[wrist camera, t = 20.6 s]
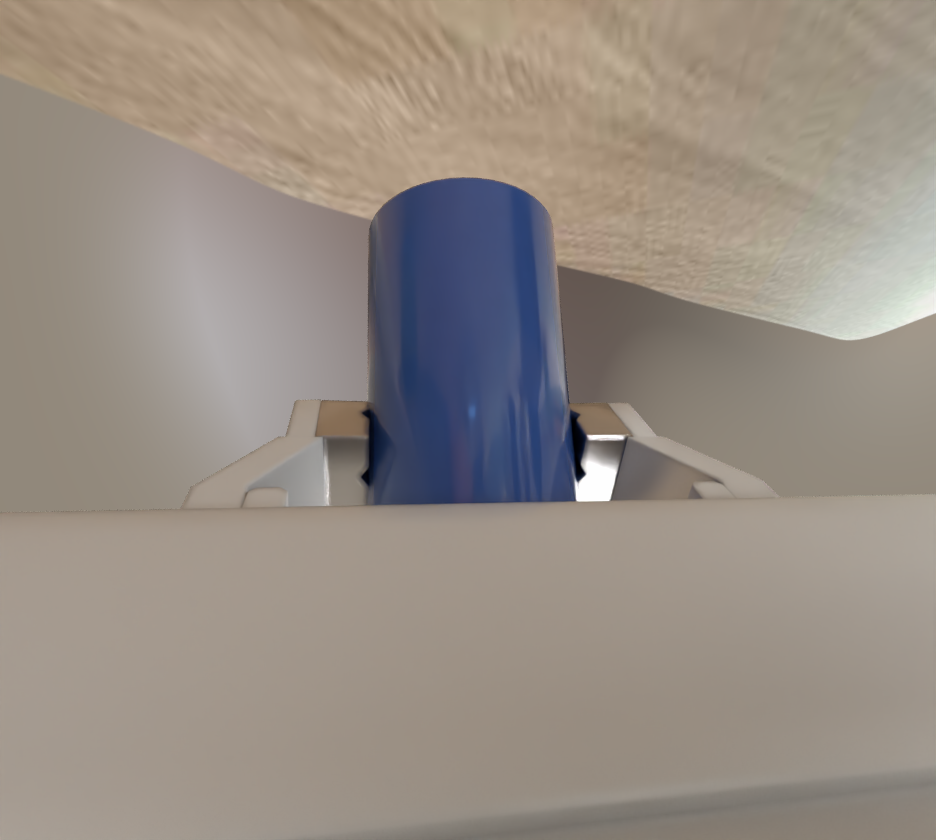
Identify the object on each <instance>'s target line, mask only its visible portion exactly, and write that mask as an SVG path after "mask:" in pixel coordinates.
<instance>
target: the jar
mask: <svg viewBox="0 0 936 840" xmlns="http://www.w3.org/2000/svg"><path fill="white" fill-rule="evenodd" d="M368 250H369V251H368V253H369V254H368V367H367V369H368V370H367V372H368V373H367V378H368V379H367V402H368V404H369V407H370V410H369V418H368V419H369V467H368V469H367V476H368V483H369V491H368V497H367V505H407V504H460V503H513V502H566V501H579V498H578V487H577V477H576V466H575V455H574V445H573V434H572V423H571V413H570V402H569V391H568V381H567V371H566V359H565V349H564V338H563V329H562V328H563V327H562V318H561V306H560V295H559V285H558V274H557V263H556V252H555V242H554V231H553V224H552V220H551V217H550V215H549V213H548V212H547V210H546V209H545V207H544V206H543V205H542V204H541V203H540V202H539V201H538V200H537V199H536V198H535V197H533V196H532V195H530V194H529V193H527V192H526V191H524V190H522V189H520V188H517V187H515V186H513V185H510V184H507V183H504V182H499V181H495V180H490V179H482V178H465V177H462V178H448V179H441V180H435V181H431V182H427V183H423V184H420V185H417V186H414V187H411V188H409V189H407V190H405V191H403V192H401V193H399V194H397V195H396V196H394V197H393V198H391V199H390V200H389V201H387V202H386V203H385V204H384V205H383V206H382V207H381V208H380V209H379V211H378V212H377V213H376V215H375V217H374V218H373V220H372V222H371V225H370V228H369V249H368Z"/></svg>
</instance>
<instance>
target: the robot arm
mask: <svg viewBox="0 0 936 840" xmlns="http://www.w3.org/2000/svg"><path fill="white" fill-rule="evenodd" d="M369 410H370V407H369V404H368V402H365V401H329V400H322V401H321V400H296V401H295V403H294V407H293V411H292V414H291V418H290V422H289V425H288V429H287V433H286V436H285V437H277V438H275V439H274V440H272V441H270V442H268V443H267V444H265V445H263V446H261V447H260V448H258V449H256V450H255V451H253V452H251V453H249V454H248V455H246V456H244V457H242V458H240V459H239V460H237V461H235V462H234V463H232V464H230V465H228V466H227V467H225V468H223V469H221V470H220V471H218V472H216V473H215V474H213V475H211V476H209V477H207V478H206V479H204V480H202V481H201V482H199V483H197V484H195V485H193V486H192V487H191V488H190V490H189V492H188V494H187V496H186V498H185V500H184V502H183V505H182V506H181V508H180V509H153V510H152V509H151V510H104V511H54V512H53V511H52V512H1V513H0V840H936V494H922V495H877V496H876V495H872V496H822V497H779V496H778V495H777V494H776V493H775V492H774V491H773V490H772V489H771V488H770V487H769V486H768V485H767V484H766V483H765V482H764V481H763V480H761V479H759V478H757V477H755V476H752V475H750V474H748V473H746V472H743V471H741V470H739V469H736V468H734V467H732V466H730V465H727V464H725V463H723V462H720V461H718V460H716V459H714V458H711V457H709V456H707V455H704V454H702V453H700V452H697V451H695V450H693V449H691V448H688V447H686V446H684V445H681V444H679V443H677V442H675V441H672V440H670V439H668V438H666V437H657V436H656V435H655V433H654V432H653V431H652V430H651V429H650V428H649V426H648V425H647V424H646V423H645V422H644V421H643V419H642V418H641V417H640V416H639V415H638V414H637V413H636V411H635V410H634V409H633V408H632V407H631V406H630V404H627V403H609V404H608V403H570V413H571V423H572V434H573V445H574V455H575V466H576V477H577V487H578V498H579V501H566V502H513V503H460V504H407V505H367V497H368V491H369V483H368V476H367V469H368V467H369V419H368V418H369Z"/></svg>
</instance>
